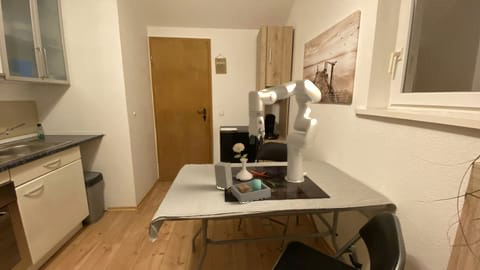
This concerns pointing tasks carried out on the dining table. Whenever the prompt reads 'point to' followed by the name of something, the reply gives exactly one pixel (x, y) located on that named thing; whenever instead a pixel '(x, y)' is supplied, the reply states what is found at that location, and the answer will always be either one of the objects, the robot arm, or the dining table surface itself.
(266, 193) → the tote
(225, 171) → the skincare box
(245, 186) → the walnut cube
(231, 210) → the dining table surface
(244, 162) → the flower in vase
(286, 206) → the dining table surface
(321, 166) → the dining table surface
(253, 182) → the mint rounded capsule part
